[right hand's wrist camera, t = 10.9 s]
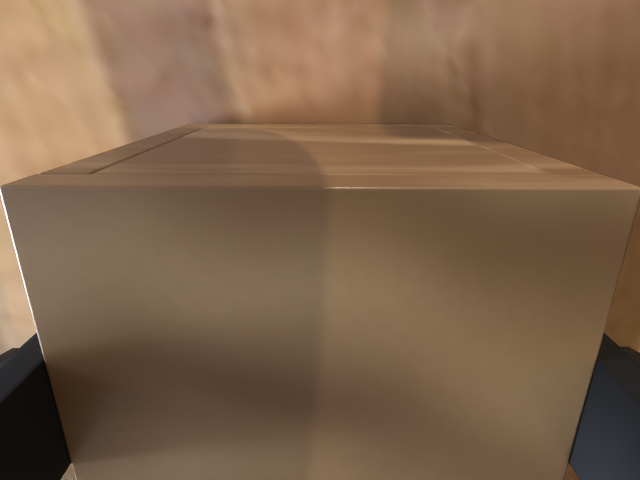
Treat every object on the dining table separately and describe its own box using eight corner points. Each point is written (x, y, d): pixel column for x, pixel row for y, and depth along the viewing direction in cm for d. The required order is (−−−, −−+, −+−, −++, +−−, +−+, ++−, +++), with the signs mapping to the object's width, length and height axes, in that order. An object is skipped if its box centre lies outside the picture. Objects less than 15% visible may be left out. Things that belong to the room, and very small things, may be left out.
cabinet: (411, 503, 26) (476, 804, 15) (226, 503, 25) (160, 804, 15) (451, 124, 18) (644, 187, 7) (187, 123, 18) (-5, 186, 7)
